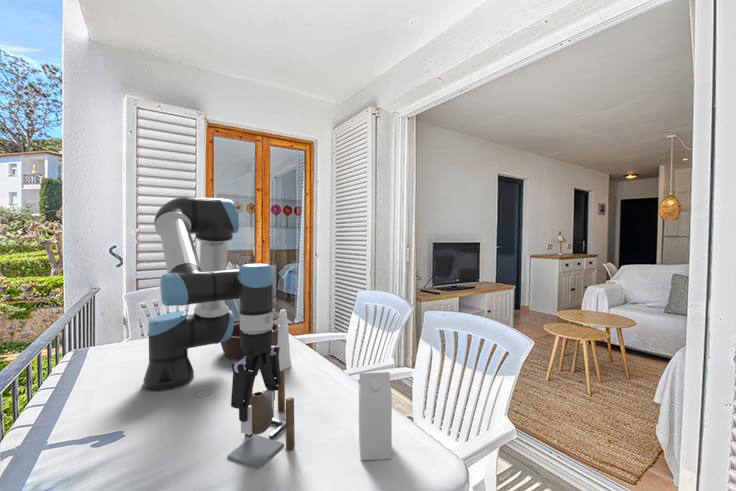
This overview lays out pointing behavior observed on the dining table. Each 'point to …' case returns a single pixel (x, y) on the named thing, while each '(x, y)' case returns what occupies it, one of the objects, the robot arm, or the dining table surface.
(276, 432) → the grey l-shaped bracket
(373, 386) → the milk carton
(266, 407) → the vase
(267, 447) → the pad
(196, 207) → the robot arm
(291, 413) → the posts
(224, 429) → the dining table surface
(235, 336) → the wooden bowl
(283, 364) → the cosmetic bottle
